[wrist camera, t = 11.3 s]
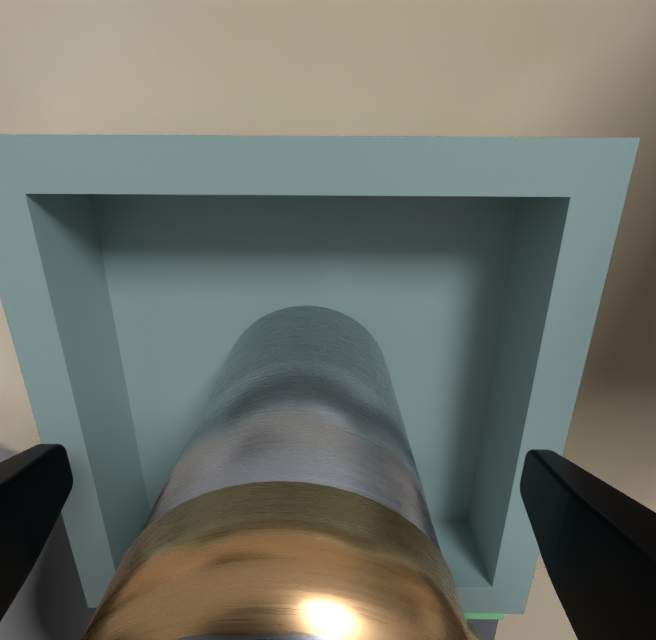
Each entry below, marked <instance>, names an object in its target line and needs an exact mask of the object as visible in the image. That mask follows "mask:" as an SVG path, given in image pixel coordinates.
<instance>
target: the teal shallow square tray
mask: <svg viewBox="0 0 656 640" xmlns="http://www.w3.org/2000/svg"><path fill="white" fill-rule="evenodd" d="M639 141H640V138H634V137H427V136H219V135H12V134H0V297H1V300H2V304H3V308H4V311H5V315H6V318H7V322H8V325H9V329H10V332H11V336H12V339H13V343H14V347H15V350H16V354H17V357H18V361H19V364H20V368H21V371H22V375H23V378H24V382H25V386H26V389H27V393H28V396H29V400H30V403H31V407H32V410H33V414H34V418H35V421H36V425H37V428H38V432H39V435H40V439H41V442H42V444H61V445H63V446H64V447H65V448H66V451H67V455H68V459H69V463H70V466H71V470H72V474H73V486H72V490H71V492H70V494H69V496H68V498H67V500H66V502H65V504H64V506H63V508H62V511H61V513H62V516H63V520H64V523H65V527H66V531H67V534H68V538H69V542H70V545H71V548H72V552H73V556H74V559H75V563H76V566H77V570H78V574H79V577H80V581H81V584H82V588H83V591H84V595H85V598H86V602H87V606H88V608H89V607H90V608H97V607H98V605H99V603H100V601H101V599H102V597H103V596H104V594H105V592H106V590H107V588H108V586H109V584H110V582H111V580H112V578H113V576H114V574H115V572H116V570H117V568H118V566H119V564H120V563H121V561H122V559H123V557H124V555H125V553H126V552H127V550H128V549H129V547H130V546H131V544H132V543H133V541H134V540H135V539H136V538H137V537H138V536H139V534H140V532H141V530H142V528H143V526H144V524H145V522H146V520H147V518H148V516H149V514H150V512H151V510H152V508H153V506H154V504H155V502H156V500H157V498H158V496H159V494H160V492H161V490H162V488H163V486H164V485H165V483H166V481H167V479H168V477H169V475H170V473H171V471H172V469H173V467H174V465H175V463H176V461H177V459H178V457H179V455H180V453H181V451H182V449H183V447H184V445H185V443H186V441H187V439H188V437H189V435H190V433H191V431H192V429H193V427H194V425H195V423H196V421H197V419H198V417H199V415H200V413H201V411H202V409H203V407H204V405H205V403H206V401H207V399H208V397H209V395H210V393H211V391H212V389H213V387H214V385H215V383H216V381H217V379H218V377H219V375H220V373H221V371H222V369H223V367H224V365H225V363H226V361H227V359H228V357H229V355H230V353H231V351H232V349H233V348H234V346H235V344H236V342H237V341H238V339H239V338H240V336H241V335H242V334H243V333H244V332H245V331H246V329H247V328H249V327H250V326H251V325H252V324H253V323H254V322H256V321H257V320H259V319H260V318H262V317H263V316H265V315H268V314H270V313H272V312H274V311H277V310H280V309H283V308H288V307H293V306H319V307H324V308H329V309H332V310H335V311H338V312H341V313H343V314H345V315H347V316H349V317H351V318H352V319H354V320H355V321H357V322H358V323H360V324H361V325H362V326H363V327H364V328H366V329H367V330H368V332H369V333H370V334H371V335H372V336H373V337H374V339H375V340H376V342H377V343H378V344H379V346H380V348H381V350H382V352H383V355H384V358H385V361H386V364H387V368H388V371H389V374H390V378H391V381H392V385H393V388H394V392H395V395H396V398H397V402H398V405H399V409H400V412H401V416H402V419H403V422H404V426H405V429H406V433H407V436H408V440H409V443H410V446H411V450H412V453H413V457H414V460H415V464H416V467H417V470H418V474H419V477H420V481H421V484H422V488H423V491H424V494H425V498H426V501H427V505H428V508H429V512H430V515H431V518H432V522H433V525H434V529H435V532H436V536H437V539H438V542H439V546H440V549H441V553H442V556H443V558H444V560H445V562H446V563H447V565H448V567H449V569H450V571H451V574H452V577H453V580H454V584H455V587H456V590H457V593H458V597H459V600H460V603H461V607H462V610H463V613H504V614H524V611H525V607H526V603H527V599H528V595H529V591H530V587H531V582H532V578H533V574H534V570H535V566H536V562H537V558H538V554H539V547H538V544H537V541H536V538H535V535H534V532H533V529H532V526H531V524H530V521H529V518H528V515H527V512H526V509H525V506H524V503H523V500H522V497H521V494H520V480H521V475H522V470H523V465H524V460H525V456H526V453H527V452H528V451H529V450H531V449H548V450H552V451H554V452H556V453H557V454H559V455H561V456H563V452H564V448H565V444H566V440H567V435H568V431H569V427H570V423H571V419H572V415H573V411H574V407H575V403H576V399H577V395H578V391H579V386H580V382H581V378H582V374H583V370H584V366H585V362H586V358H587V354H588V350H589V346H590V342H591V337H592V333H593V329H594V325H595V321H596V317H597V313H598V309H599V305H600V301H601V297H602V292H603V288H604V284H605V280H606V276H607V272H608V268H609V264H610V260H611V256H612V252H613V248H614V243H615V239H616V235H617V231H618V227H619V223H620V219H621V215H622V211H623V207H624V203H625V199H626V194H627V190H628V186H629V182H630V178H631V174H632V170H633V166H634V162H635V158H636V154H637V150H638V145H639Z"/></svg>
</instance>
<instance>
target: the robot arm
mask: <svg viewBox="0 0 656 640" xmlns="http://www.w3.org/2000/svg"><path fill="white" fill-rule="evenodd" d="M72 486H73V474H72V470H71V466H70V463H69V459H68V455H67V451H66V448H65V447H64V446H63V445H61V444H38V445H36V446H34V447H32V448H30V449H27V450H25V451H23V452H21V453H19V454H17V455H15V456H13V457H11V458H9V459H6V460H4V461H2V462H0V621H1V620H2V618H3V616H4V615H5V613H6V612H7V610H8V608H9V607H10V605H11V603H12V602H13V600H14V598H15V597H16V595H17V594H18V592H19V590H20V589H21V587H22V585H23V584H24V582H25V580H26V579H27V577H28V575H29V573H30V572H31V570H32V568H33V566H34V565H35V563H36V561H37V559H38V557H39V555H40V553H41V551H42V549H43V547H44V545H45V543H46V541H47V539H48V537H49V535H50V533H51V531H52V529H53V527H54V525H55V523H56V521H57V518H58V517H59V515H60V513H61V511H62V508H63V506H64V504H65V502H66V500H67V498H68V496H69V494H70V492H71V490H72ZM520 494H521V497H522V500H523V503H524V506H525V509H526V512H527V515H528V518H529V521H530V524H531V526H532V529H533V532H534V535H535V538H536V541H537V544H538V547H539V550H540V553H541V556H542V558H543V561H544V564H545V567H546V569H547V572H548V575H549V577H550V579H551V582H552V584H553V586H554V589H555V591H556V593H557V595H558V597H559V599H560V602H561V604H562V606H563V608H564V610H565V612H566V615H567V617H568V619H569V621H570V623H571V626H572V628H573V630H574V632H575V634H576V636H577V639H578V640H656V513H655V512H654V511H652V510H650V509H649V508H647V507H645V506H644V505H642V504H640V503H639V502H637V501H635V500H634V499H632V498H630V497H629V496H627V495H625V494H624V493H622V492H620V491H619V490H617V489H615V488H614V487H612V486H610V485H609V484H607V483H605V482H604V481H602V480H600V479H599V478H597V477H595V476H594V475H592V474H590V473H589V472H587V471H585V470H584V469H582V468H580V467H579V466H577V465H575V464H574V463H572V462H570V461H569V460H567V459H565V458H564V457H562V456H561V455H559V454H557V453H556V452H554V451H552V450H548V449H531V450H529V451H528V452H527V453H526V456H525V460H524V465H523V470H522V475H521V480H520Z"/></svg>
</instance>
